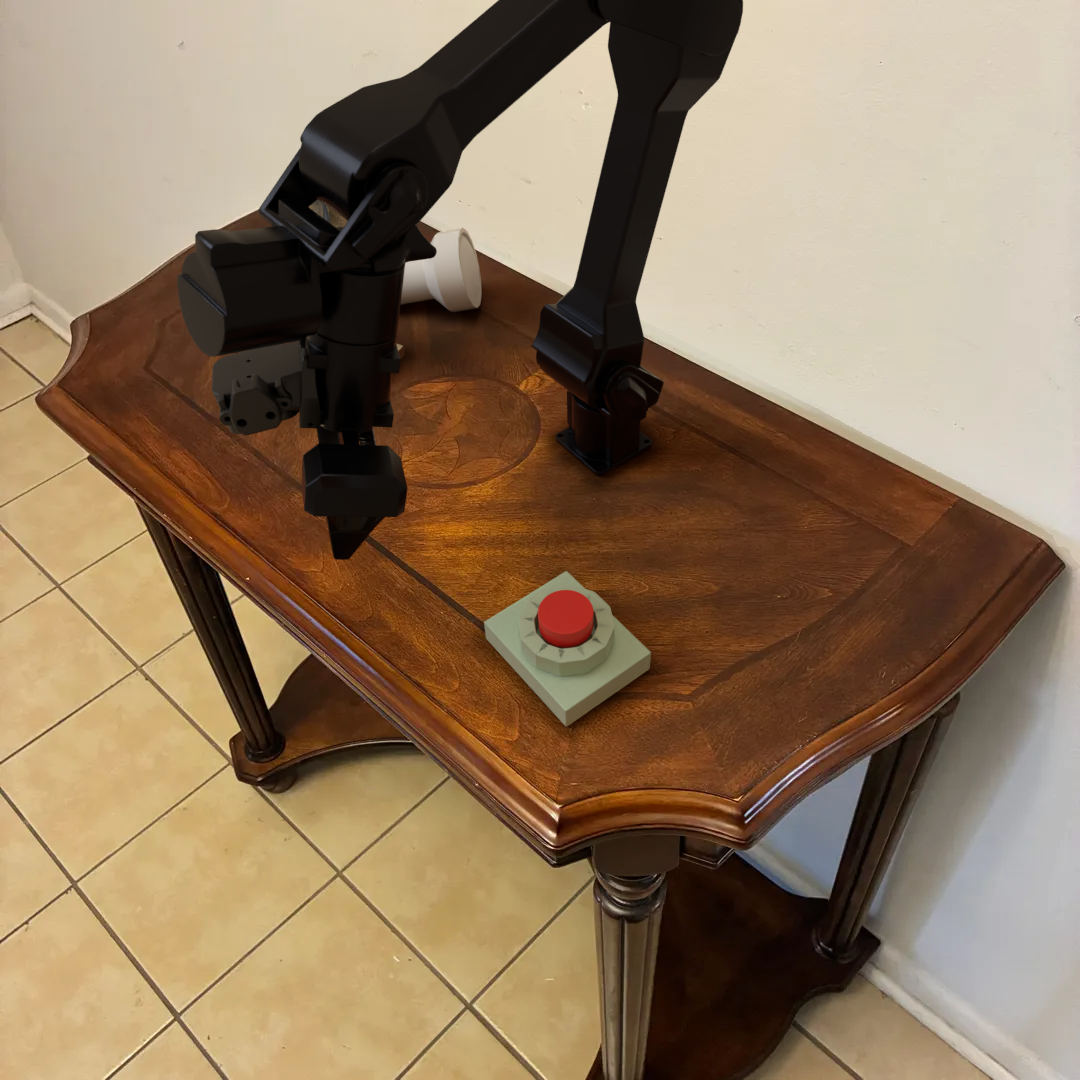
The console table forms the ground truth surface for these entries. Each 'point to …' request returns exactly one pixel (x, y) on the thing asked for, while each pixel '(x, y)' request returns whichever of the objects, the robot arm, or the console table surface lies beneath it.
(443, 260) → the spotlight
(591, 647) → the button box
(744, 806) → the console table surface
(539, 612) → the red button
